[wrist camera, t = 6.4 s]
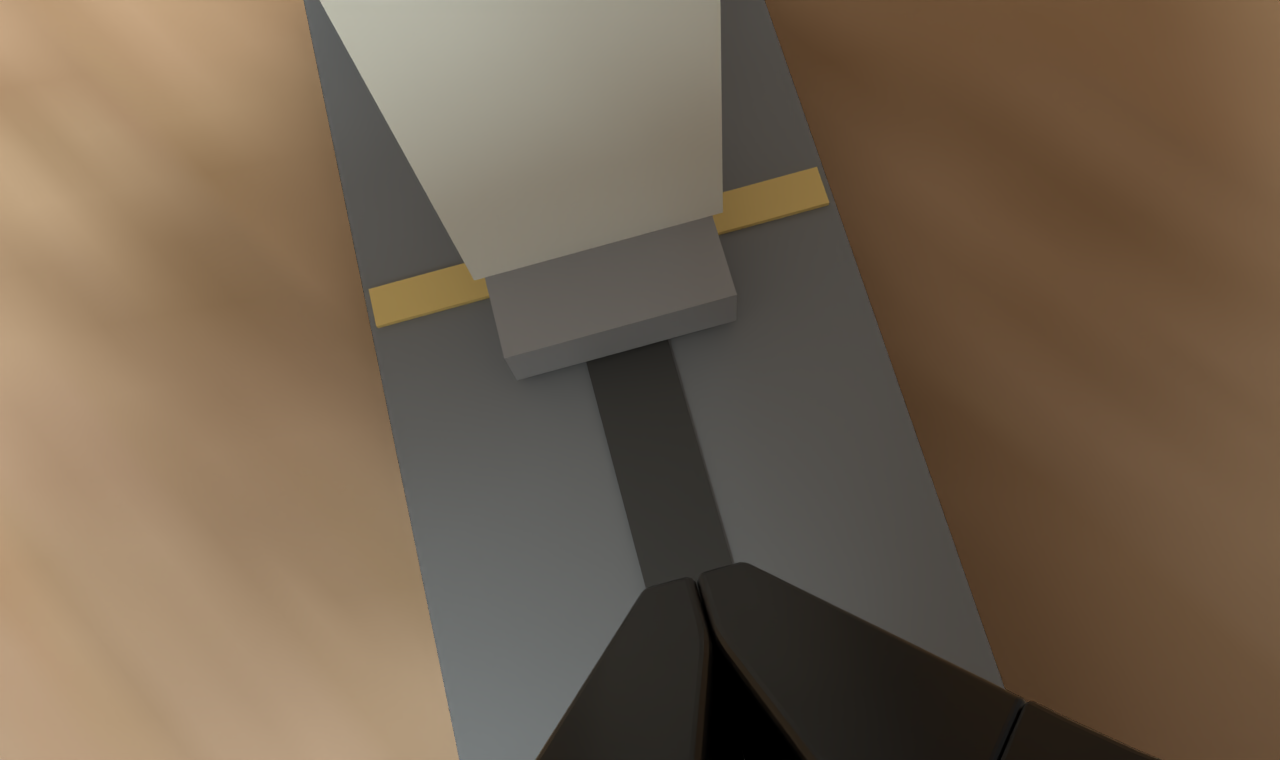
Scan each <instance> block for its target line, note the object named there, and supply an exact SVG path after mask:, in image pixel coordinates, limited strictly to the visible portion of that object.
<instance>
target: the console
mask: <svg viewBox="0 0 1280 760" xmlns="http://www.w3.org/2000/svg"><path fill="white" fill-rule="evenodd" d="M304 4H305V9H306V14H307V19H308V24H309V29H310V33H311V38H312V43H313V48H314V53H315V58H316V63H317V68H318V72H319V77H320V82H321V87H322V92H323V97H324V102H325V107H326V111H327V116H328V121H329V126H330V131H331V136H332V141H333V146H334V150H335V155H336V160H337V165H338V170H339V175H340V180H341V185H342V189H343V194H344V199H345V204H346V209H347V214H348V219H349V224H350V228H351V233H352V238H353V243H354V248H355V253H356V258H357V263H358V267H359V272H360V277H361V282H362V287H363V292H364V297H365V302H366V306H367V311H368V316H369V321H370V326H371V331H372V336H373V341H374V345H375V350H376V355H377V360H378V365H379V370H380V375H381V380H382V385H383V389H384V394H385V399H386V404H387V409H388V414H389V419H390V424H391V428H392V433H393V438H394V443H395V448H396V453H397V458H398V463H399V467H400V472H401V477H402V482H403V487H404V492H405V497H406V502H407V506H408V511H409V516H410V521H411V526H412V531H413V536H414V541H415V545H416V550H417V555H418V560H419V565H420V570H421V575H422V580H423V584H424V589H425V594H426V599H427V604H428V609H429V614H430V619H431V623H432V628H433V633H434V638H435V643H436V648H437V653H438V658H439V662H440V667H441V672H442V677H443V682H444V687H445V692H446V697H447V701H448V706H449V711H450V716H451V721H452V726H453V731H454V736H455V740H456V745H457V750H458V755H459V760H535V759H536V758H537V756H538V755H539V753H540V751H541V750H542V748H543V747H544V745H545V743H546V742H547V740H548V739H549V737H550V736H551V734H552V732H553V731H554V729H555V728H556V726H557V725H558V723H559V721H560V720H561V718H562V717H563V715H564V714H565V712H566V710H567V709H568V707H569V706H570V704H571V703H572V701H573V699H574V698H575V696H576V695H577V693H578V691H579V690H580V688H581V687H582V685H583V684H584V682H585V680H586V679H587V677H588V676H589V674H590V673H591V671H592V669H593V668H594V666H595V665H596V663H597V662H598V660H599V658H600V657H601V655H602V654H603V652H604V650H605V649H606V647H607V646H608V644H609V643H610V641H611V639H612V638H613V636H614V635H615V633H616V632H617V630H618V628H619V627H620V625H621V624H622V622H623V621H624V619H625V617H626V616H627V614H628V613H629V611H630V609H631V608H632V606H633V605H634V603H635V602H636V600H637V598H638V597H639V595H640V594H641V592H642V591H644V590H645V589H646V588H647V587H650V586H653V585H657V584H661V583H665V582H668V581H672V580H676V579H680V578H683V577H689V578H692V579H693V580H694V581H695V582H696V584H697V579H698V576H699V575H700V574H701V573H703V572H706V571H709V570H713V569H717V568H720V567H724V566H727V565H731V564H735V563H738V562H745V563H749V564H752V565H754V566H756V567H758V568H760V569H762V570H764V571H766V572H768V573H770V574H772V575H774V576H776V577H778V578H780V579H782V580H784V581H786V582H788V583H790V584H792V585H794V586H796V587H798V588H800V589H802V590H804V591H806V592H808V593H811V594H813V595H815V596H817V597H819V598H821V599H823V600H825V601H827V602H829V603H831V604H833V605H835V606H837V607H839V608H841V609H843V610H845V611H847V612H849V613H851V614H853V615H855V616H857V617H859V618H861V619H863V620H865V621H867V622H869V623H872V624H874V625H876V626H878V627H880V628H882V629H884V630H886V631H888V632H890V633H892V634H894V635H896V636H898V637H900V638H902V639H904V640H906V641H908V642H910V643H912V644H914V645H916V646H918V647H920V648H922V649H924V650H926V651H928V652H930V653H933V654H935V655H937V656H939V657H941V658H943V659H945V660H947V661H949V662H951V663H953V664H955V665H957V666H959V667H961V668H963V669H965V670H967V671H969V672H971V673H973V674H975V675H977V676H979V677H981V678H983V679H985V680H987V681H989V682H992V683H994V684H996V685H998V686H1000V687H1002V688H1004V685H1003V682H1002V679H1001V676H1000V673H999V671H998V668H997V665H996V662H995V659H994V656H993V653H992V651H991V648H990V645H989V642H988V639H987V636H986V633H985V630H984V628H983V625H982V622H981V619H980V616H979V613H978V610H977V608H976V605H975V602H974V599H973V596H972V593H971V590H970V587H969V585H968V582H967V579H966V576H965V573H964V570H963V567H962V565H961V562H960V559H959V556H958V553H957V550H956V547H955V544H954V542H953V539H952V536H951V533H950V530H949V527H948V524H947V522H946V519H945V516H944V513H943V510H942V507H941V504H940V502H939V499H938V496H937V493H936V490H935V487H934V484H933V481H932V479H931V476H930V473H929V470H928V467H927V464H926V461H925V459H924V456H923V453H922V450H921V447H920V444H919V441H918V438H917V436H916V433H915V430H914V427H913V424H912V421H911V418H910V416H909V413H908V410H907V407H906V404H905V401H904V398H903V395H902V393H901V390H900V387H899V384H898V381H897V378H896V375H895V373H894V370H893V367H892V364H891V361H890V358H889V355H888V353H887V350H886V347H885V344H884V341H883V338H882V335H881V332H880V330H879V327H878V324H877V321H876V318H875V315H874V312H873V310H872V307H871V304H870V301H869V298H868V295H867V292H866V289H865V287H864V284H863V281H862V278H861V275H860V272H859V269H858V267H857V264H856V261H855V258H854V255H853V252H852V249H851V246H850V244H849V241H848V238H847V235H846V232H845V229H844V226H843V224H842V221H841V218H840V215H839V212H838V209H837V206H836V204H835V201H834V198H833V195H832V192H831V189H830V186H829V183H828V181H827V178H826V175H825V172H824V169H823V166H822V163H821V161H820V158H819V155H818V152H817V149H816V146H815V143H814V140H813V138H812V135H811V132H810V129H809V126H808V123H807V120H806V118H805V115H804V112H803V109H802V106H801V103H800V100H799V97H798V95H797V92H796V89H795V86H794V83H793V80H792V77H791V75H790V72H789V69H788V66H787V63H786V60H785V57H784V55H783V52H782V49H781V46H780V43H779V40H778V37H777V34H776V32H775V29H774V26H773V23H772V20H771V17H770V14H769V12H768V9H767V6H766V3H765V0H720V6H721V91H722V176H723V213H720V214H716V215H712V216H713V219H714V223H715V226H716V229H717V232H718V235H719V239H720V242H721V245H722V248H723V251H724V255H725V258H726V261H727V264H728V267H729V271H730V274H731V277H732V280H733V284H734V287H735V290H736V293H737V320H736V321H733V322H729V323H725V324H722V325H718V326H714V327H711V328H707V329H704V330H700V331H696V332H693V333H689V334H685V335H682V336H678V337H674V338H671V339H667V340H663V341H660V342H656V343H652V344H649V345H645V346H642V347H638V348H634V349H631V350H627V351H623V352H620V353H616V354H612V355H609V356H605V357H601V358H598V359H594V360H590V361H587V362H583V363H579V364H576V365H572V366H569V367H565V368H561V369H558V370H554V371H550V372H547V373H543V374H539V375H536V376H532V377H528V378H525V379H521V380H517V379H516V378H515V376H514V374H513V372H512V371H511V369H510V367H509V366H508V364H507V362H506V361H505V359H504V355H503V351H502V347H501V343H500V339H499V334H498V330H497V326H496V322H495V318H494V314H493V309H492V305H491V301H490V297H489V293H488V289H487V285H486V280H485V278H482V279H478V280H474V279H473V278H472V276H471V274H470V272H469V270H468V268H467V267H466V265H465V263H464V261H463V259H462V258H461V256H460V254H459V252H458V250H457V249H456V247H455V245H454V243H453V241H452V239H451V238H450V236H449V234H448V232H447V230H446V229H445V227H444V225H443V223H442V221H441V220H440V218H439V216H438V214H437V212H436V210H435V209H434V207H433V205H432V203H431V201H430V200H429V198H428V196H427V194H426V192H425V191H424V189H423V187H422V185H421V183H420V181H419V180H418V178H417V176H416V174H415V172H414V171H413V169H412V167H411V165H410V163H409V162H408V160H407V158H406V156H405V154H404V152H403V151H402V149H401V147H400V145H399V143H398V142H397V140H396V138H395V136H394V134H393V132H392V131H391V129H390V127H389V125H388V123H387V122H386V120H385V118H384V116H383V114H382V113H381V111H380V109H379V107H378V105H377V103H376V102H375V100H374V98H373V96H372V94H371V93H370V91H369V89H368V87H367V85H366V84H365V82H364V80H363V78H362V76H361V74H360V73H359V71H358V69H357V67H356V65H355V64H354V62H353V60H352V58H351V56H350V55H349V53H348V51H347V49H346V47H345V45H344V44H343V42H342V40H341V38H340V36H339V35H338V33H337V31H336V29H335V27H334V26H333V24H332V22H331V20H330V18H329V16H328V15H327V13H326V11H325V9H324V7H323V6H322V4H321V2H320V0H304ZM697 588H698V586H697ZM698 591H699V589H698ZM699 594H700V593H699ZM700 598H701V597H700ZM1004 689H1005V688H1004ZM743 756H744V755H743ZM744 760H745V759H744Z"/></svg>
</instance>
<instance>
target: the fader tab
mask: <svg viewBox="0 0 1280 760" xmlns="http://www.w3.org/2000/svg"><path fill="white" fill-rule="evenodd" d="M320 2H321V4H322V6H323V7H324V9H325V11H326V13H327V15H328V16H329V18H330V20H331V22H332V24H333V26H334V27H335V29H336V31H337V33H338V35H339V36H340V38H341V40H342V42H343V44H344V45H345V47H346V49H347V51H348V53H349V55H350V56H351V58H352V60H353V62H354V64H355V65H356V67H357V69H358V71H359V73H360V74H361V76H362V78H363V80H364V82H365V84H366V85H367V87H368V89H369V91H370V93H371V94H372V96H373V98H374V100H375V102H376V103H377V105H378V107H379V109H380V111H381V113H382V114H383V116H384V118H385V120H386V122H387V123H388V125H389V127H390V129H391V131H392V132H393V134H394V136H395V138H396V140H397V142H398V143H399V145H400V147H401V149H402V151H403V152H404V154H405V156H406V158H407V160H408V162H409V163H410V165H411V167H412V169H413V171H414V172H415V174H416V176H417V178H418V180H419V181H420V183H421V185H422V187H423V189H424V191H425V192H426V194H427V196H428V198H429V200H430V201H431V203H432V205H433V207H434V209H435V210H436V212H437V214H438V216H439V218H440V220H441V221H442V223H443V225H444V227H445V229H446V230H447V232H448V234H449V236H450V238H451V239H452V241H453V243H454V245H455V247H456V249H457V250H458V252H459V254H460V256H461V258H462V259H463V261H464V263H465V265H466V267H467V268H468V270H469V272H470V274H471V276H472V278H473V279H474V280H478V279H482V278H485V280H486V285H487V289H488V293H489V297H490V301H491V305H492V309H493V314H494V318H495V322H496V326H497V330H498V334H499V339H500V343H501V347H502V351H503V355H504V359H505V361H506V362H507V364H508V366H509V367H510V369H511V371H512V372H513V374H514V376H515V378H516V379H517V380H521V379H525V378H528V377H532V376H536V375H539V374H543V373H547V372H550V371H554V370H558V369H561V368H565V367H569V366H572V365H576V364H579V363H583V362H587V361H590V360H594V359H598V358H601V357H605V356H609V355H612V354H616V353H620V352H623V351H627V350H631V349H634V348H638V347H642V346H645V345H649V344H652V343H656V342H660V341H663V340H667V339H671V338H674V337H678V336H682V335H685V334H689V333H693V332H696V331H700V330H704V329H707V328H711V327H714V326H718V325H722V324H725V323H729V322H733V321H736V320H737V293H736V290H735V287H734V284H733V280H732V277H731V274H730V271H729V267H728V264H727V261H726V258H725V255H724V251H723V248H722V245H721V242H720V239H719V235H718V232H717V229H716V226H715V223H714V219H713V216H712V215H716V214H720V213H723V176H722V91H721V6H720V0H320Z"/></svg>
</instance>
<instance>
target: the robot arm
mask: <svg viewBox="0 0 1280 760" xmlns="http://www.w3.org/2000/svg"><path fill="white" fill-rule="evenodd" d="M697 586H698V588H697ZM698 589H699V591H698ZM699 593H700V594H699ZM700 597H701V598H700ZM743 755H744V756H743ZM744 759H745V760H1161V759H1159V758H1156V757H1154V756H1151V755H1149V754H1146V753H1144V752H1141V751H1139V750H1137V749H1135V748H1133V747H1130V746H1128V745H1126V744H1124V743H1122V742H1119V741H1117V740H1115V739H1113V738H1111V737H1108V736H1106V735H1104V734H1102V733H1100V732H1097V731H1095V730H1093V729H1091V728H1089V727H1086V726H1084V725H1082V724H1080V723H1078V722H1075V721H1073V720H1071V719H1069V718H1067V717H1065V716H1063V715H1061V714H1059V713H1057V712H1055V711H1053V710H1051V709H1049V708H1047V707H1045V706H1042V705H1040V704H1038V703H1036V702H1034V701H1030V702H1026V701H1025V699H1023V698H1022V697H1020V696H1018V695H1016V694H1014V693H1012V692H1010V691H1008V690H1006V689H1004V688H1002V687H1000V686H998V685H996V684H994V683H992V682H989V681H987V680H985V679H983V678H981V677H979V676H977V675H975V674H973V673H971V672H969V671H967V670H965V669H963V668H961V667H959V666H957V665H955V664H953V663H951V662H949V661H947V660H945V659H943V658H941V657H939V656H937V655H935V654H933V653H930V652H928V651H926V650H924V649H922V648H920V647H918V646H916V645H914V644H912V643H910V642H908V641H906V640H904V639H902V638H900V637H898V636H896V635H894V634H892V633H890V632H888V631H886V630H884V629H882V628H880V627H878V626H876V625H874V624H872V623H869V622H867V621H865V620H863V619H861V618H859V617H857V616H855V615H853V614H851V613H849V612H847V611H845V610H843V609H841V608H839V607H837V606H835V605H833V604H831V603H829V602H827V601H825V600H823V599H821V598H819V597H817V596H815V595H813V594H811V593H808V592H806V591H804V590H802V589H800V588H798V587H796V586H794V585H792V584H790V583H788V582H786V581H784V580H782V579H780V578H778V577H776V576H774V575H772V574H770V573H768V572H766V571H764V570H762V569H760V568H758V567H756V566H754V565H752V564H749V563H745V562H738V563H735V564H731V565H727V566H724V567H720V568H717V569H713V570H709V571H706V572H703V573H701V574H700V575H699V576H698V579H697V584H696V582H695V581H694V580H693V579H692V578H689V577H683V578H680V579H676V580H672V581H668V582H665V583H661V584H657V585H653V586H650V587H647V588H646V589H645V590H644V591H642V592H641V594H640V595H639V597H638V598H637V600H636V602H635V603H634V605H633V606H632V608H631V609H630V611H629V613H628V614H627V616H626V617H625V619H624V621H623V622H622V624H621V625H620V627H619V628H618V630H617V632H616V633H615V635H614V636H613V638H612V639H611V641H610V643H609V644H608V646H607V647H606V649H605V650H604V652H603V654H602V655H601V657H600V658H599V660H598V662H597V663H596V665H595V666H594V668H593V669H592V671H591V673H590V674H589V676H588V677H587V679H586V680H585V682H584V684H583V685H582V687H581V688H580V690H579V691H578V693H577V695H576V696H575V698H574V699H573V701H572V703H571V704H570V706H569V707H568V709H567V710H566V712H565V714H564V715H563V717H562V718H561V720H560V721H559V723H558V725H557V726H556V728H555V729H554V731H553V732H552V734H551V736H550V737H549V739H548V740H547V742H546V743H545V745H544V747H543V748H542V750H541V751H540V753H539V755H538V756H537V758H536V759H535V760H744Z"/></svg>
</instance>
